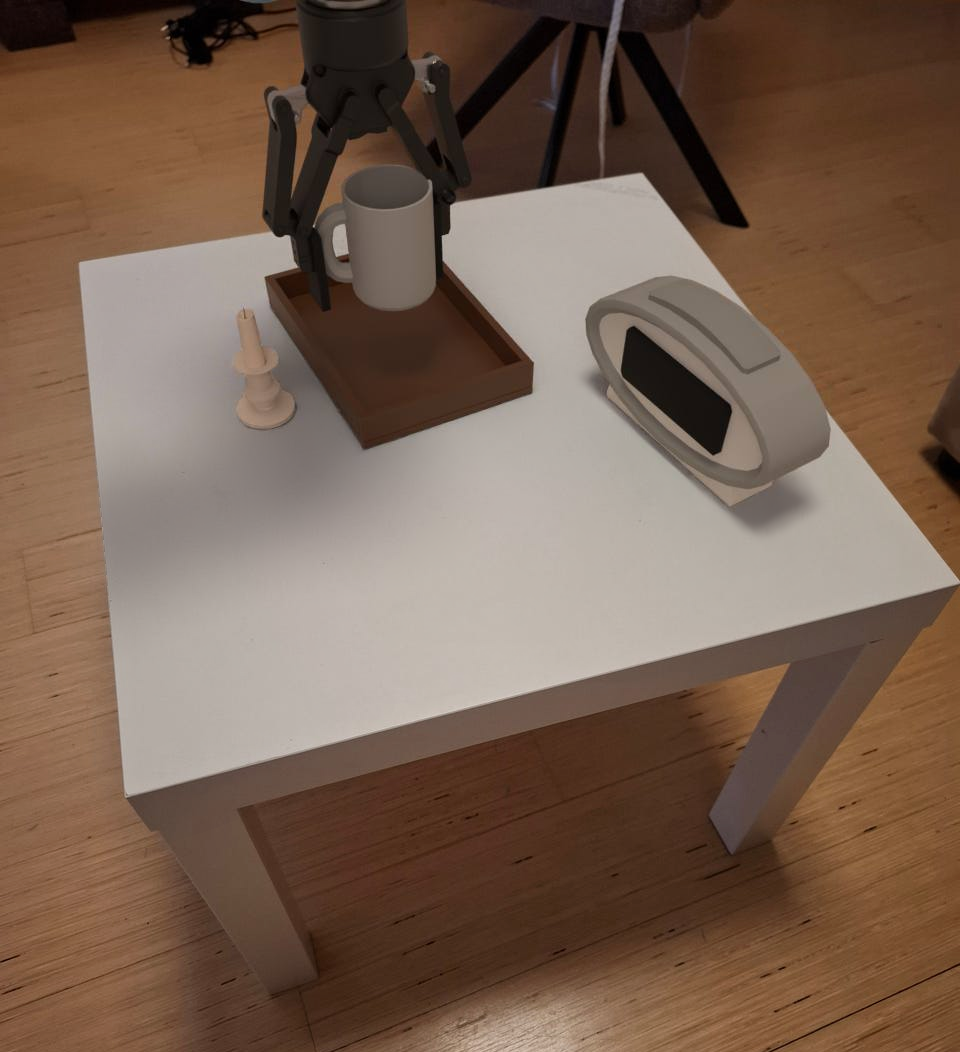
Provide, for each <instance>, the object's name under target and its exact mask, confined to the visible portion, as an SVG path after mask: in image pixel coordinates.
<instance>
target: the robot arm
mask: <svg viewBox="0 0 960 1052" xmlns="http://www.w3.org/2000/svg"><path fill="white" fill-rule="evenodd" d="M240 1H241V2H246V3H251V4H267V3H273V2H277V0H240ZM294 2H295V9H296V11H295V12H296V16H297V23H298V24H297V25H298V32H299V40H300V46H301V54H302V60H303V72H302V76H301V79H300V83H299V84H298V85H297V84H296V85H294V86H290V87H288V88H284V89H281V90H279V89H278V88H277V87H276V86H275V85H269V86H267V87H266V88H265V90H264V92H263V100H264V104H265V108H266V112H267V115H268V121H269V127H268V138H267V148H266V149H267V151H266V161H265V162H266V163H265V173H264V174H265V175H264V176H265V177H264V178H265V179H264V187H263V188H264V189H263V198H262V199H263V200H262V213H261V216H262V219H263V222H264V223H265V224H266V225H267V227H268V228H269V230H270V231H271V232H272V234H273V235H274V236H275V237H276V238H283V237H285V236H289V239H290V245H291V250H292V256H293V261H294V263H295V265H296V266H297V268H299V269H300V270H301V272H302V273H303V274H308V279H309V285H310V291H311V296H312V297H313V299H314V300H315V302H316V303H317V304H318V306H319V307H320V309H321V310H322V311H323V312H325V311H328V310H331V304H330V297H329V290H328V283H327V276H326V269H325V261H324V254H323V247H322V240H321V236H320V235H319V234H318V232H317V231H316V230H315V228H314V226H315V223H316V220H317V218H318V217H317V216H318V213H319V211H320V208H321V205H322V202H323V199H324V196H325V194H326V191H327V189H328V185H329V183H330V180H331V177H332V174H333V172H334V168H335V165H336V163H337V161H338V157H339V156H342V155H343V153H344V151H345V148H346V145H347V142H348V140H349V141H354V140H358V139H360V138H362V137H364V136H366V135H368V134H375V135H377V134H384V133H387V132H388V128H390V130H391V132H392V133H393V135H394V137H395V138H396V139H397V141H398V143H399V145H401V147H402V149H403V151H404V152H405V154H406V155H407V156H408V158H409V160H410V161H411V163H412V164H413V166H414V168H415V169H417V170H419V171H420V172H421V173H422V174H423V175H424V176H425V177H426V179H427V180H431V182H432V190H433V216H434V241H435V267H436V279H438V278H441V277H443V261H444V259H443V257H444V255H443V237H444V236H448V235H449V233H450V231H451V227H452V226H451V206H452V205H454V204H455V203H456V201H457V193H456V191H458V190H459V189H460V188H461V189H467V188H469V187H470V185H471V184H472V182H473V178H472V173H471V170H470V166H469V162H468V159H467V155H466V151H465V148H464V145H463V141H462V137H461V134H460V129H459V125H458V123H457V119H456V115H455V111H454V107H453V104H452V101H451V96H450V92H451V91H450V90H451V89H450V88H451V68H450V66H449V65H448V64H447V63H446V62H445V61H444V60H443V59H442V58H440V57H439V56H438V55H437V54H435V52H433V51H430V50H429V51H426V52H424V54H423V56H422V58H419V59H411V58H410V55H409V50H408V49H409V28H408V27H409V26H408V25H409V24H408V8H407V7H408V6H407V0H294ZM414 83H415V84H416V86H417V88H418V89H420V90H421V91H422V95H423V99H424V102H425V107H426V109H427V113H428V116H429V119H430V122H431V125H432V129H433V133H434V136H435V139H436V142H437V147H438V150H439V153H440V156H441V161H442V163H443V165H444V169H443V170H442V171H441V170H440V168H439V166H438V165H437V163H436V161H435V160H434V158H433V156H432V155H431V153H430V152H429V150H428V148H427V147H426V145H425V143H424V142H423V141H422V138H421V137H420V135H419V134H418V132H417V131H416V128H415V126H414V124H413V123H412V121H411V119H410V118H409V116H408V115H407V112H406V111H405V109H404V108H403V105H404V103H405V101H406V99H407V96H408V95H409V92H410V91H411V90H412V89H411V88H412V86H413V84H414ZM307 105H309V106H310V107H311V108H312V109H313V110H314V111H315V112H316V113H315V117H314V120H313V123H312V126H311V133H310V134H311V138H310V142H309V145H308V147H307V149H306V150H307V151H306V154H305V156H304V160H303V163H302V166H301V168H300V172H299V174H298V177H297V180H296V182H295V183H296V184H295V186H294V189H293V182H294V175H295V174H294V173H295V162H296V153H297V143H298V134H297V133H298V132H297V131H298V130H297V125H299V124H300V123H302V117H303V116H302V115H303V110H304V108H305V106H307Z"/></svg>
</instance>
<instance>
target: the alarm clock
mask: <svg viewBox="0 0 960 1052" xmlns="http://www.w3.org/2000/svg"><path fill="white" fill-rule="evenodd" d="M584 321H585V322H584V323H585V336H586V338H587V341H588V344H589V347H590V350H591V353H592V356H593V358H594V360H595V362H596V364H597V366H598V367H599V369H600V371H601V374H602V376H603V377H604V379H605V380H606V382H607V383H608V384H609V385H608V387H607V390H606V397H607V398H608V399H609V400H610V401H611V402H613V404H615V405H616V406H617V407H618V408H619V409H620V410H621V411H623V412H624V413H625V415H627V416H628V418H630V419H631V420H632V421H634V422H635V424H637V425H638V426H639V427H640V428H641V429H642V430H644V432H646V433H647V434H648V435H649V436H650V437H651V438H652V439H654V440H655V441H656V442H657V443H658V444H659V445H660V446H661V447H662V448H663V449H665V451H667V452H668V453H669V454H670V455H671V456H672V457H674V459H676V460H677V461H678V462H679V463H680V464H681V465H682V466H683V467H685V468H686V469H687V470H688V472H690V473H691V474H692V475H693V476H695V477H696V479H698V480H699V481H700V482H701V483H702V484H703V485H704V486H705V487H707V488H708V489H709V490H710V491H711V492H712V493H713V494H714V495H716V496H717V497H718V498H719V499H720V500H721V501H723V503H725V504H726V506H727V507H729V508H730V507H732V506H735V505H737V504H738V503H740V502H742V501H745V500H746V499H749V498H750V497H752V496H754V495H757V494H758V493H760V492H762V491H764V490H765V489H768V488H770V487H771V486H772V485H773V483H774V481H776V480H777V479H780V478H782V477H784V476H786V475H787V474H789V473H792V472H793V471H795V470H797V469H799V468H802V467H803V466H805V465H807V464H809V463H811V462H813V461H816V460H817V459H820V458H821V457H822V456H823V454H824V453H825V451H827V449H828V448H829V447H830V440H831V432H832V431H831V429H832V428H831V424H830V420H829V417H828V413H827V409H826V406H825V404H824V402H823V400H822V398H821V396H820V394H819V391H818V390H817V389H816V386H815V385H814V384H815V383H814V382H813V381H812V379H811V377H810V376H809V375H808V373H806V371H805V369H804V368H803V367H802V365H801V364H800V363H799V361H798V360H797V358H796V357H795V356H794V354H793V352H791V351H790V350H789V349H788V348H787V347H786V345H784V344H783V342H781V340H780V339H778V338H777V336H776V335H775V334H774V333H773V332H772V331H771V330H770V329H769V328H768V327H767V326H765V325H764V324H763V323H762V322H760V320H758V319H757V318H756V317H755V316H753V315H752V314H751V313H750V312H749V311H748V310H746V309H745V308H744V307H743V306H741V305H739V304H738V303H737V302H735V301H733V300H732V299H730V298H728V297H727V296H726V295H724V294H723V293H721V292H720V291H717V290H716V289H714V288H712V287H709V286H707V285H705V284H702V283H701V282H698V281H696V280H694V279H690V278H685V277H680V276H675V275H663V276H655V277H652V278H650V279H647V280H644V281H642V282H640V283H637V284H634V285H631V286H629V287H626V288H624V289H622V290H619V291H616V292H614V293H611V294H609V295H607V296H603V297H601V298H599V299H598V300H596V301H595V302H593V303H592V304H591V305H590V306H589V307H588V310H587V313H586V316H585V318H584Z"/></svg>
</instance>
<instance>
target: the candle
mask: <svg viewBox="0 0 960 1052" xmlns="http://www.w3.org/2000/svg"><path fill="white" fill-rule="evenodd" d="M235 318H236V324H237V328H238V334H239V335H238V336H239V340H240V344H241V345H240V346H241V350H240V351H238V352H236V354H234V356H233V357H232V360H231V363H232V364H231V365H232V367H233V369H234V370H235V371H237V373H240V374H242V375H245V381H246V383H245V385H244V386H243V388H242V392H243V396H241V397H240V398H239V400H238V401H237V403H236V406H235V410H236V411H235V412H236V416H237V418H238V420H239V422H241V423H242V424H243V425H244V426H247V427H248V428H251V429H256V430H270V429H275V428H279V427H281V426H283V425H284V424H286V423H288V422H289V421H290V420H291V419H292V418H293V417H294V415H295V413H296V409H297V407H296V401H295V398H294V397H293V395H292V394H291V393H290V392H289V391H287V390H285V389H281V385H280V383H279V381H278V380H277V379H275V378H273V373H272V370H273V369H274V368H276V366H277V365H278V364H279V355H278V353H277V352H276V351H275V350H274V349H273V348H270V347H268V346H264V345H262V340H261V335H260V332H259V328H258V323H257V320H256V317H255V312H254V309H252V308H244V307H242V309H241V310H239V311H238V312H237V314H236V317H235Z"/></svg>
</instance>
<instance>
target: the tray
mask: <svg viewBox="0 0 960 1052" xmlns="http://www.w3.org/2000/svg"><path fill="white" fill-rule="evenodd" d="M336 257H337V259H338V261H339V262H342V263H348V262H350V261H349V253H345V254H342V255H338V256H336ZM326 276H327V283H328V290H329V297H330V304H331V310H328V311H325V312H323V311H322V310H321V309H320V307H319V306H318V304H317V303H316V302H315V300H314V299H313V297H312V296H311V291H310V285H309V279H308V274H303V273H302V272H301V270H300V269H299V268H298V267H294V268H291V269H287V270H283V271H280V272H277V273H273V274H268V275H266V276H264V277H263V278H264V283H265V287H266V293H267V298H268V302H269V307H270V308H271V310H272V311H273V313H274V314H275V317H277V319H278V321H279V322H280V323H281V325H282V327H283V328H284V330H285V332H286V333H287V334H288V336H289V337H290V339H291V341H292V342H293V343H294V345H295V346H296V348H297V349H298V351H299V352H300V354H301V355H302V357H303V358H304V360H305V361H306V363H307V365H308V366H309V367H310V369H311V370H312V372H313V373H314V375H315V376H316V378H317V380H318V381H319V383H320V384H321V386H322V387H323V389H324V390H325V392H326V393H327V395H328V396H329V398H330V400H331V401H332V402H333V404H334V405H335V407H336V408H337V410H338V412H339V413H340V415H341V416H342V418H343V420H344V421H345V422H346V424H347V425H348V427H349V428H350V429H351V431H352V433H353V434H354V436H355V437H356V439H357V440H358V442H359V444H360V445H361V446H362V448H363V449H364V450H367V449H371V448H373V447H376V446H380V445H382V444H385V443H388V442H392V441H394V440H397V439H400V438H403V437H406V436H408V435H412V434H415V433H417V432H421V431H423V430H427V429H430V428H432V427H435V426H438V425H441V424H445V423H447V422H450V421H452V420H453V421H454V420H456V419H460V418H462V417H465V416H468V415H471V414H474V413H476V412H480V411H482V410H483V411H484V410H486V409H489V408H491V407H494V406H498V405H501V404H503V403H506V402H509V401H512V400H516V399H518V398H521V397H524V396H527V395H531V394H532V393H533V385H534V373H535V372H534V369H535V362H534V361H533V360H532V359H531V358H530V356H529V355H528V354H527V353H526V352H525V351H524V350H523V349H522V348H521V346H520V345H519V344H518V343H517V342H516V341H515V340H514V338H513V337H512V336H511V335H510V334H509V333H508V332H507V331H506V330H505V328H504V327H503V326H502V325H501V324H500V323H499V321H498V320H496V319H495V318H494V316H493V315H492V314H491V313H490V312H489V310H488V309H487V308H486V306H484V305H483V304H482V302H480V300H479V299H478V298H477V297H476V295H474V294H473V293H472V291H471V290H470V289H469V288H468V287H467V286H466V285H465V283H463V281H462V280H461V279H460V278H459V277H458V275H457V274H456V273H454V271H453V270H452V269H451V268H450V267H449V266H448V265H447V263H446V262H445V261H444V260H443V277H441V278H438V279H436V286H435V289H434V292H433V293H432V295H431V296H430V297H429V298H428V299H427V301H425V302H424V303H422V304H421V305H419V306H416V307H414V308H411V309H407V310H402V311H384V310H379V309H375V308H372V307H370V306H368V305H366V304H364V303H363V302H362V301H361V300H360V299H359V298H358V297H357V296H356V294H355V292H354V289H353V284H352V283H344V282H339V281H336V280H334V279H333V278H331V277H330V276H328V275H327V274H326Z"/></svg>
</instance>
